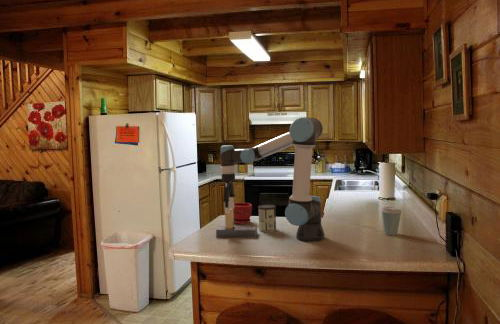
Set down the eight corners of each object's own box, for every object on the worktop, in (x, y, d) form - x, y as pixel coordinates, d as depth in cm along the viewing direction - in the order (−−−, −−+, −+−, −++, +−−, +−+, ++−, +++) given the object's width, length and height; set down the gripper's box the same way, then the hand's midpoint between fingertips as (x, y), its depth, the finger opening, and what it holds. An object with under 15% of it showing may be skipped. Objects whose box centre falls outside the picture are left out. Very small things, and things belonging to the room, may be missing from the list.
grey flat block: (257, 233, 241) (257, 226, 241) (255, 237, 233) (255, 230, 233) (219, 233, 244) (219, 226, 244) (216, 236, 236) (216, 229, 236)
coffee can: (266, 226, 256) (266, 203, 255) (279, 229, 249) (279, 205, 248) (255, 230, 249) (254, 206, 248) (268, 232, 242) (267, 208, 241)
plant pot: (243, 225, 260) (243, 206, 259) (227, 223, 268) (226, 204, 267) (256, 221, 271) (256, 203, 270) (240, 219, 279) (239, 201, 278)
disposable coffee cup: (386, 230, 240) (387, 204, 239) (405, 233, 232) (405, 207, 231) (377, 234, 233) (377, 207, 231) (396, 237, 225) (396, 210, 224)
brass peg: (234, 234, 241) (233, 208, 240) (232, 236, 237) (232, 209, 236) (227, 234, 241) (226, 208, 240) (225, 235, 237) (225, 209, 236)
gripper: (225, 170, 249) (227, 206, 251) (216, 175, 224) (218, 215, 226) (238, 170, 248) (239, 206, 250) (230, 175, 223) (232, 215, 225)
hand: (229, 210), depth 238 cm, fingers open, 13 cm apart
